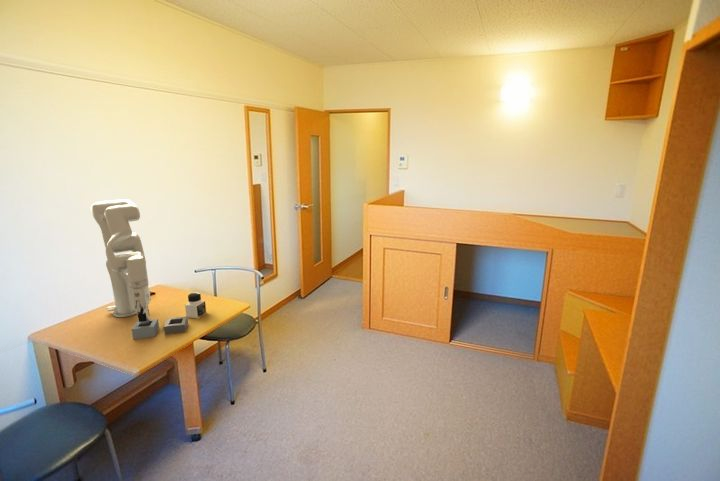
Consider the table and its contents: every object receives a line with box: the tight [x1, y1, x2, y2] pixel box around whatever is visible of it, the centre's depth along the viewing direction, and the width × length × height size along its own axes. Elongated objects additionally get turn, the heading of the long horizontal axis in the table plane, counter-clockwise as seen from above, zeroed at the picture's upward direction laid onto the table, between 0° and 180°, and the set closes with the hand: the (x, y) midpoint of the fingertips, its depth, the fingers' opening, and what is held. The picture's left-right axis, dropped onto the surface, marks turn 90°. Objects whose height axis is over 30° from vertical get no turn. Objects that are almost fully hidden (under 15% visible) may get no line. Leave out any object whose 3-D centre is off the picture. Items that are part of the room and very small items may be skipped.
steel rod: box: [140, 306, 150, 327], centre depth 172 cm, size 4×4×12 cm
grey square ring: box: [163, 315, 189, 335], centre depth 177 cm, size 9×9×4 cm
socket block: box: [131, 318, 160, 340], centre depth 173 cm, size 9×9×5 cm
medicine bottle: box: [184, 292, 207, 319], centre depth 191 cm, size 7×7×12 cm
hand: (144, 318), depth 172 cm, fingers closed on steel rod, 4 cm apart
